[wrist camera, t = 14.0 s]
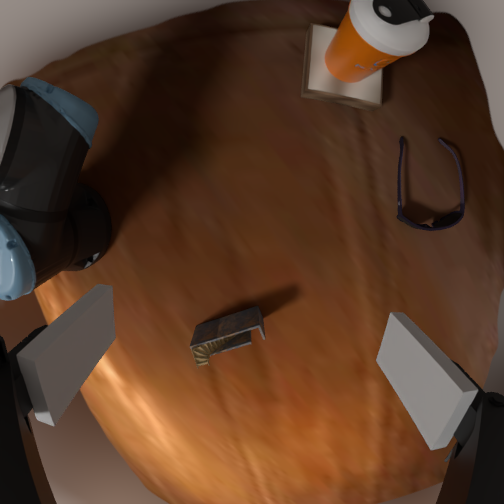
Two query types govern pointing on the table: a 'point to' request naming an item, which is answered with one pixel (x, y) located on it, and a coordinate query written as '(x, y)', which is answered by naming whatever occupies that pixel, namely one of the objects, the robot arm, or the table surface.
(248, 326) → the dark angular channel piece
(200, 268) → the table surface
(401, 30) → the shaker bottle
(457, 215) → the sunglasses
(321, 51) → the block
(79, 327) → the robot arm
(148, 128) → the table surface
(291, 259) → the table surface
